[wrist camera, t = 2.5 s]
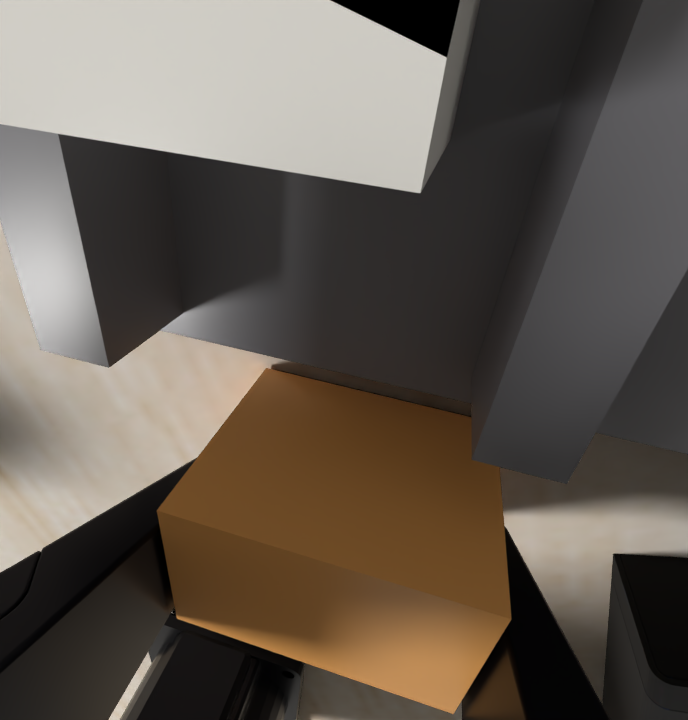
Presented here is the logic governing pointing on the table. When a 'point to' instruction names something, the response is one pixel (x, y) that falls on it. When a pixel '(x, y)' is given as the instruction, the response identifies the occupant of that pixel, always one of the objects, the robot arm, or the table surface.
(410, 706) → the table surface
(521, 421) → the grey ridged tray
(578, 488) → the table surface
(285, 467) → the orange block
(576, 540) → the table surface
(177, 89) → the white block
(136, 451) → the table surface
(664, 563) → the external hard drive
